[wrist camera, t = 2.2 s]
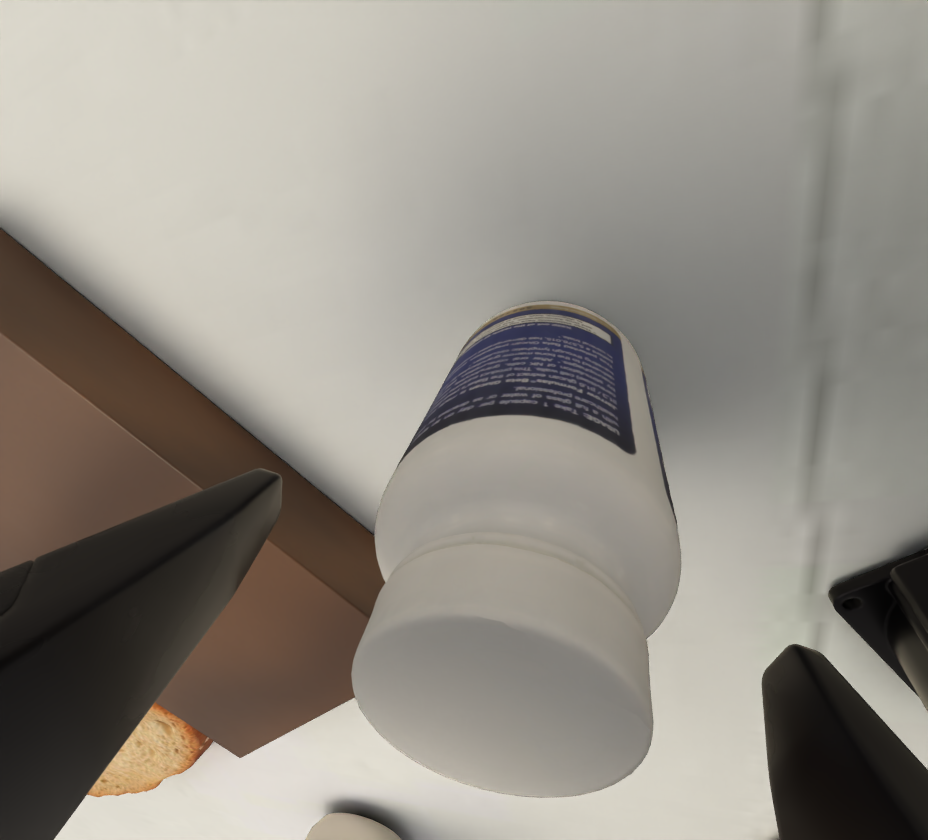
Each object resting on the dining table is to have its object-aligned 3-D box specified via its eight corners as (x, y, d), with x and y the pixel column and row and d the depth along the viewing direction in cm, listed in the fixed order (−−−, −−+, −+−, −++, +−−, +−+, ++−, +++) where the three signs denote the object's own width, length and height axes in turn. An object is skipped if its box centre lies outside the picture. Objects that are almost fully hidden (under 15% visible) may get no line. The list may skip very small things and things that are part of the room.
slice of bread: (227, 666, 26) (177, 741, 23) (219, 807, 36) (183, 873, 33) (-89, 543, 27) (-179, 599, 24) (-14, 713, 36) (-71, 769, 33)
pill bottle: (419, 369, 15) (223, 654, 7) (566, 253, 13) (524, 484, 5) (530, 491, 17) (472, 847, 9) (683, 408, 14) (809, 798, 6)
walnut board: (445, 593, 20) (424, 661, 18) (273, 698, 27) (240, 758, 24) (-20, 210, 16) (-135, 227, 13) (-84, 450, 23) (-168, 491, 20)
